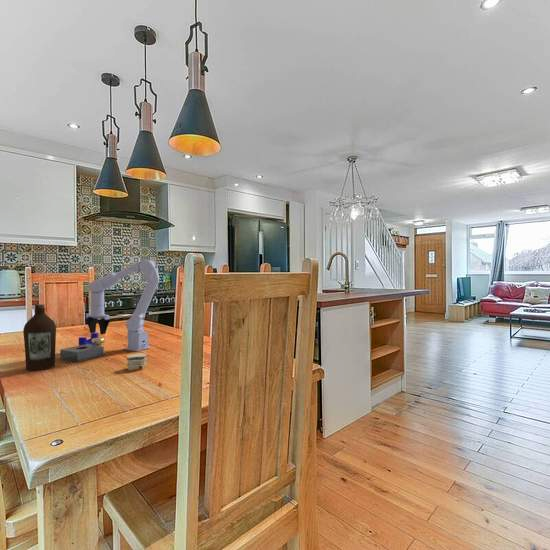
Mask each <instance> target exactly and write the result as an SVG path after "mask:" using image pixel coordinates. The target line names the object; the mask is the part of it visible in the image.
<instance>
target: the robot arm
mask: <svg viewBox="0 0 550 550" xmlns="http://www.w3.org/2000/svg"><path fill="white" fill-rule="evenodd" d="M136 272H139V273H140V272H141V273H142V274H143V275H144V276H145V278H146V280H147V281H146V284H145V287H144V289H143V291H142V293H141V296H140V299H139V301H138V303H137V305H136V307H135V310H134V311H133V313H132V315H131V317H130V318H129V319H128V320H127V321H126V324H125V326H126V329H127V347H123V350H126V351H133V352H139V351H143V350H146V349H150V348H151V346H149V345H150V344H149V334H148V333H147V332H146V331H144V327H143V326H144V324H145V318H146V313H147V310H148V308H149V306H150V304H151V301H152V299H153V296H154V294H155V292H156V289H157V287H158V285H159V283H160V275H159V267H158V265H157V263H156V262H155V261H153V260H151V259H149V260H148V259H142V260H141V261H138V262H135V263H133V264H131V265H129V266H127V267H125V268H124V269H122V270H120V271H118V272H107V273H106V274H105V275H104V276H102V277H98V278H97V280H96V279H95V280H94V279H93V280H92V281H91V282H90V283H89V284H88V290H89V291H90V313H86V315H85V316H86V318H84V322H85V323H86V324H87V326H88V331H89V333H90V334H91V333H96V332H97V331H96V330H97V323H98V326H99V334H100V335H106V333H107V329H108V327H109V324H110V322H111V319H110V315H109V314H105V290H106V289H109V288H110V287H113V286H114V285H116V284H118V283H120V280H121V279H123V278H125V277H127V276H130V275H131V274H133V273H136Z"/></svg>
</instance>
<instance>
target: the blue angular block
mask: <svg viewBox="0 0 550 550" xmlns="http://www.w3.org/2000/svg"><path fill="white" fill-rule="evenodd" d="M93 338H100V337H99V333H98V332H95V333H90V338H89V339H87V336H86V337H85V336H84V337H83V336H81V337H78V346H79V345H84V344H91V345H95V344H92V341H91V339H93Z"/></svg>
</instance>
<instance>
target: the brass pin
mask: <svg viewBox="0 0 550 550" xmlns="http://www.w3.org/2000/svg"><path fill="white" fill-rule="evenodd" d="M91 341H92V344H95V345H97V346H102V344H104V343H105V341H106V338H105V337H104V336H103V337H101V336H100V337H99V338H93V339H91Z"/></svg>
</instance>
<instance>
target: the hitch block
mask: <svg viewBox="0 0 550 550" xmlns="http://www.w3.org/2000/svg"><path fill="white" fill-rule="evenodd" d="M59 352H60V354H59V355H60V356H59V357H60V360H65V361H71V362H76V363H79V362H83V361H87V360H90V359H95V358H99V357H103V356H104V355H105V353H104V346H103V345H101V346H97V345H91V344H84V345H79V344H78V345H75V346H71V347H66V348H61V349H60V350H59Z"/></svg>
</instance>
